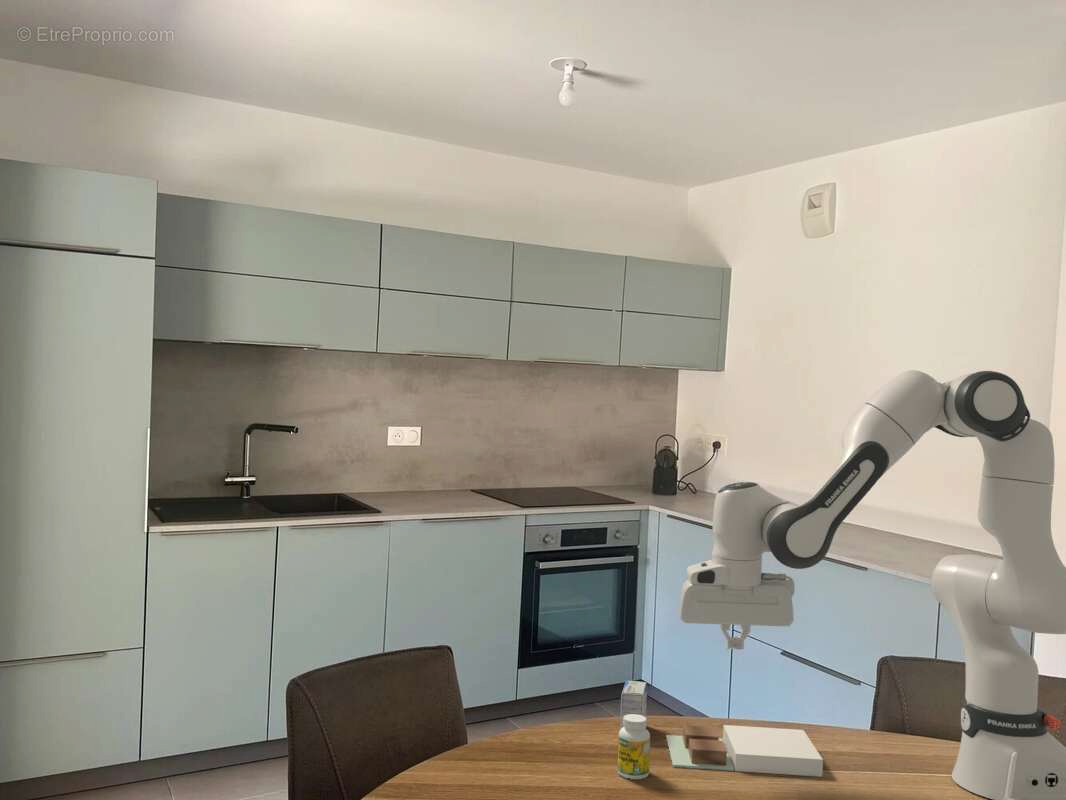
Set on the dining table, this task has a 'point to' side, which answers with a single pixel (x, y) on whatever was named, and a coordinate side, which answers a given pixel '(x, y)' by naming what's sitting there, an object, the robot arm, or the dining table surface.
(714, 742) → the near tile
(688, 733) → the far tile
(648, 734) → the supplement bottle
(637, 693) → the medicine box
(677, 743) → the mat
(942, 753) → the dining table surface
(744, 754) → the white flat block
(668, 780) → the dining table surface
